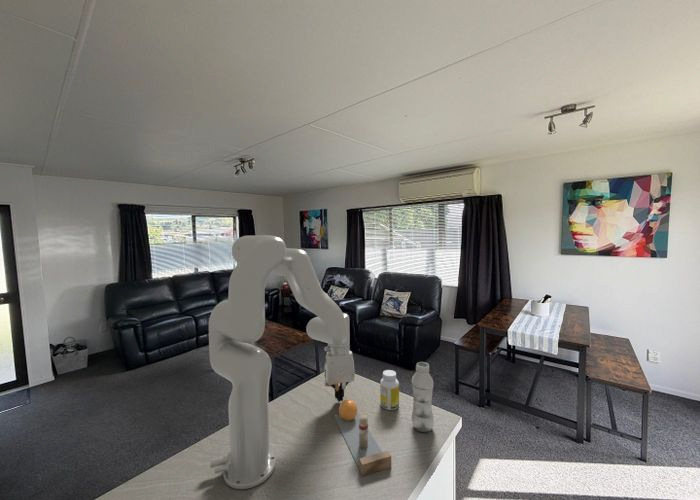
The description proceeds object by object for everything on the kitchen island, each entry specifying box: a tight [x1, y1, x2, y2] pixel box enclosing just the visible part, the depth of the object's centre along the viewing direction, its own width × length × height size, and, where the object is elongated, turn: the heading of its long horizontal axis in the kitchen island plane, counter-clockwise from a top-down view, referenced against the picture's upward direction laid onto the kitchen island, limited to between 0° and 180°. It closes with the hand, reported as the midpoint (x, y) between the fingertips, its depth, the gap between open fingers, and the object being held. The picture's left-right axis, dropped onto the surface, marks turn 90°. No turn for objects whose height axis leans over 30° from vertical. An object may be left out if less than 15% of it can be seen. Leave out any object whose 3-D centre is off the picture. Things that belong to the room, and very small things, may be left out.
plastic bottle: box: [411, 361, 435, 433], centre depth 87 cm, size 6×7×20 cm
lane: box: [333, 411, 383, 468], centre depth 85 cm, size 8×22×1 cm, turn 20°
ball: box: [338, 398, 359, 421], centre depth 92 cm, size 6×6×6 cm
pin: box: [359, 414, 369, 449], centre depth 80 cm, size 2×2×8 cm
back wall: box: [358, 450, 392, 477], centre depth 73 cm, size 8×2×3 cm, turn 110°
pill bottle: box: [379, 369, 400, 411], centre depth 99 cm, size 6×6×12 cm
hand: (339, 399), depth 101 cm, fingers closed
